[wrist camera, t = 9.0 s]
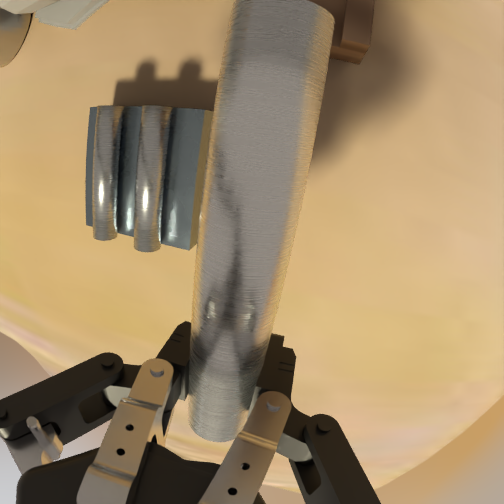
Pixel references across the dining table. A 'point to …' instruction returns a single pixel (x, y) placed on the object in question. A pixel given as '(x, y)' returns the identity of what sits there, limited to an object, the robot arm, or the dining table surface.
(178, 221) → the V-block
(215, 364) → the axle
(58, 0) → the grey faceted sculpture
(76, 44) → the dining table surface
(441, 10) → the dining table surface
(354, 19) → the grooved beam
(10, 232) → the dining table surface
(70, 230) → the dining table surface
